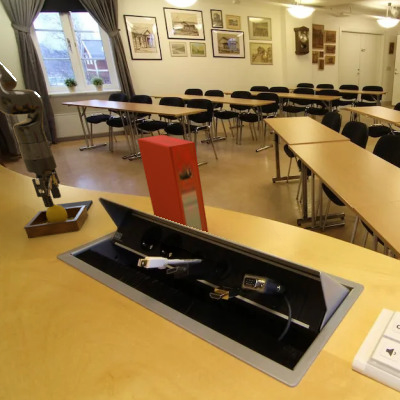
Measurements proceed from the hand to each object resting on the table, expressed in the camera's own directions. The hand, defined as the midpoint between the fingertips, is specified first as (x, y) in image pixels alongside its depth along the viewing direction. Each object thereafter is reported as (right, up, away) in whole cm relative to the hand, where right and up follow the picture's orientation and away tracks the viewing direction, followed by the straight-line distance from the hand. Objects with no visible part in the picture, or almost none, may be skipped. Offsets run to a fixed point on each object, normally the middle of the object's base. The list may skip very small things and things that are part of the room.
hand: (53, 202), depth 109 cm
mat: (-6, -3, +16) cm, 18 cm away
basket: (0, -8, +3) cm, 9 cm away
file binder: (+46, -12, -4) cm, 48 cm away
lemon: (0, -8, +3) cm, 9 cm away
